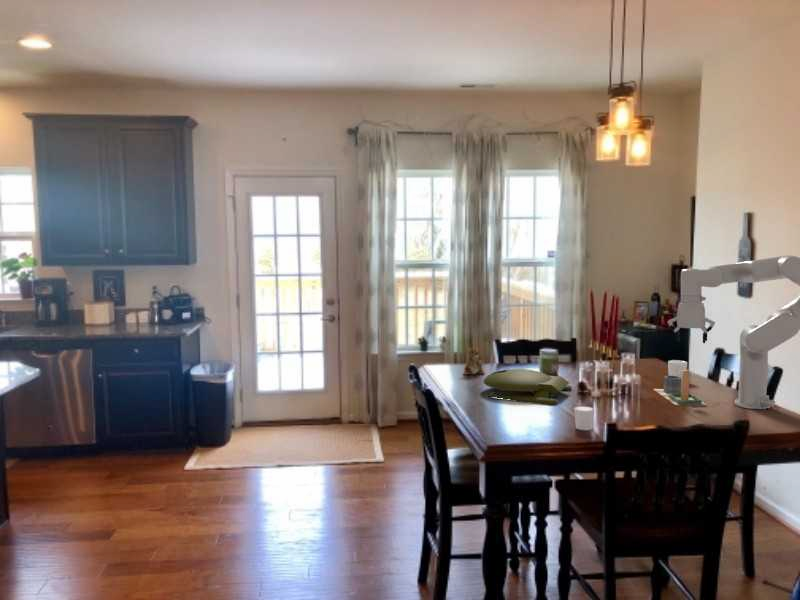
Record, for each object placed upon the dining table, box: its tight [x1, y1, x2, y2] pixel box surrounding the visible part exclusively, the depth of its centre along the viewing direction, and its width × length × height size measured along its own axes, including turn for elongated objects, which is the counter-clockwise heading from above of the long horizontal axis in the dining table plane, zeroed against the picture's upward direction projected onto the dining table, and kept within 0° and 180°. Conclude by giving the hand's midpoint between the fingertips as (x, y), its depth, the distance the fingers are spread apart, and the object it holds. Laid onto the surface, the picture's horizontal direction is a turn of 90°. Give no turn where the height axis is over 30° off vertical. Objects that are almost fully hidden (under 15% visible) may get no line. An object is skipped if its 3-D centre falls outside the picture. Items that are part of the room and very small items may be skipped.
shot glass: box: [573, 405, 595, 431], centre depth 224 cm, size 7×7×7 cm
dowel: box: [681, 369, 690, 400], centre depth 254 cm, size 3×3×12 cm
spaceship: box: [483, 368, 573, 406], centre depth 274 cm, size 35×31×10 cm
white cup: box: [667, 359, 688, 381], centre depth 287 cm, size 8×8×10 cm
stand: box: [653, 375, 708, 408], centre depth 261 cm, size 26×12×8 cm, turn 177°
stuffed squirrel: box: [464, 347, 486, 376], centre depth 316 cm, size 10×14×13 cm
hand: (690, 342), depth 255 cm, fingers open, 9 cm apart
